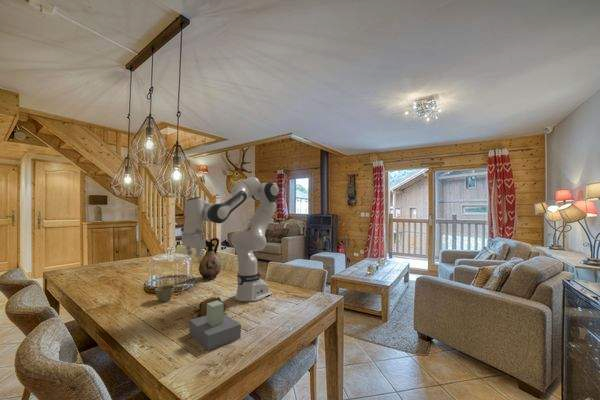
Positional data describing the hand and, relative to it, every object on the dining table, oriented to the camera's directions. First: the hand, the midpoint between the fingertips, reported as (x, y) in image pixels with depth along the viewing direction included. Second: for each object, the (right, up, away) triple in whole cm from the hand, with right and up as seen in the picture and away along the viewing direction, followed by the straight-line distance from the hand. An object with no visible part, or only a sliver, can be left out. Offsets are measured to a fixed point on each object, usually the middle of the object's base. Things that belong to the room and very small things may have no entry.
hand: (193, 256), depth 135 cm
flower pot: (-23, -29, +16) cm, 40 cm away
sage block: (+19, -23, -24) cm, 38 cm away
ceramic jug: (-12, -30, +62) cm, 69 cm away
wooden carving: (+11, -29, -7) cm, 32 cm away
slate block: (+19, -29, -24) cm, 42 cm away
